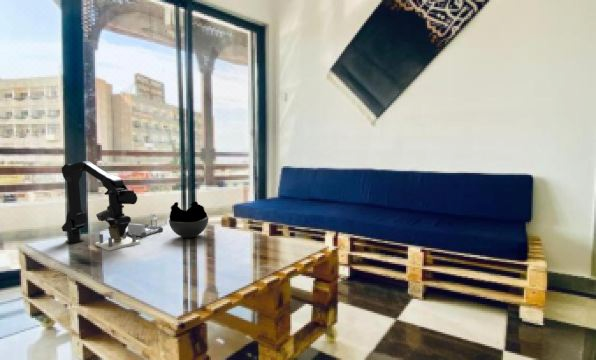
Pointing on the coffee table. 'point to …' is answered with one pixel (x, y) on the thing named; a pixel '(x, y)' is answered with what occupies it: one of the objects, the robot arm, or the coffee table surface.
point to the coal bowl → (188, 220)
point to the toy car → (144, 228)
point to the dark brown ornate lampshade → (115, 233)
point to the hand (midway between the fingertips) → (117, 234)
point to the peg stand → (112, 245)
